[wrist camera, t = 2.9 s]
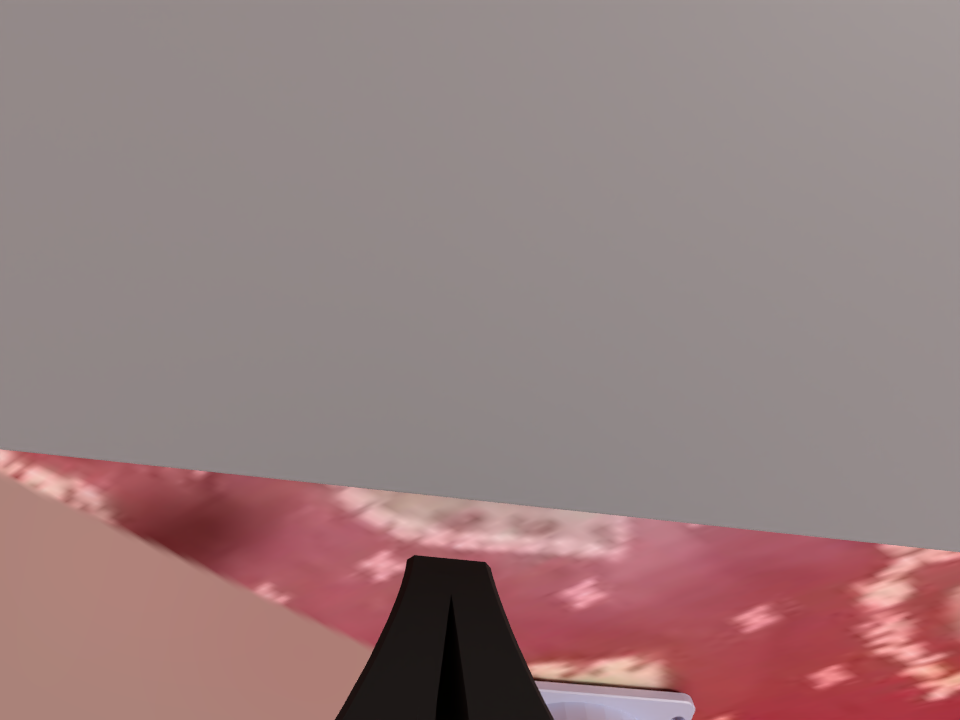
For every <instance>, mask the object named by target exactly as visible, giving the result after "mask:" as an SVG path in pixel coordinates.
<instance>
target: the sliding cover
mask: <svg viewBox="0 0 960 720" xmlns="http://www.w3.org/2000/svg"><path fill="white" fill-rule="evenodd" d="M0 449H4V450H13V451H22V452H32V453H41V454H50V455H60V456H69V457H78V458H87V459H97V460H106V461H115V462H125V463H134V464H143V465H153V466H162V467H171V468H181V469H190V470H199V471H209V472H218V473H227V474H237V475H246V476H255V477H265V478H274V479H283V480H293V481H302V482H311V483H320V484H330V485H339V486H348V487H358V488H367V489H376V490H386V491H395V492H404V493H414V494H423V495H432V496H442V497H451V498H460V499H470V500H479V501H488V502H498V503H507V504H516V505H526V506H535V507H544V508H553V509H563V510H572V511H581V512H591V513H600V514H609V515H619V516H628V517H637V518H647V519H656V520H665V521H675V522H684V523H693V524H703V525H712V526H721V527H731V528H740V529H749V530H759V531H768V532H777V533H786V534H796V535H805V536H814V537H824V538H833V539H842V540H852V541H861V542H870V543H880V544H889V545H898V546H908V547H917V548H926V549H936V550H945V551H954V552H960V0H0Z"/></svg>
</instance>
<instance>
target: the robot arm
mask: <svg viewBox="0 0 960 720" xmlns="http://www.w3.org/2000/svg"><path fill="white" fill-rule="evenodd" d="M694 712H695V706H694V704H693V701H692V699H691V697H690V696H689V695H687V694H684V693H677V692H665V691H653V690H641V689H629V688H617V687H605V686H593V685H581V684H568V683H556V682H544V681H534V679H533V677H532V674H531V672H530V670H529V668H528V666H527V663H526V661H525V659H524V657H523V655H522V653H521V650H520V648H519V646H518V644H517V641H516V639H515V636H514V634H513V632H512V629H511V627H510V624H509V622H508V619H507V616H506V614H505V611H504V609H503V606H502V603H501V600H500V598H499V595H498V592H497V589H496V585H495V582H494V579H493V576H492V572H491V568H490V567H489V566H488V565H487V563H486V562H478V561H468V560H458V559H447V558H437V557H427V556H417V555H414V556H413V557H411V558H409V559H408V560H407V563H406V569H405V574H404V577H403V581H402V584H401V587H400V590H399V593H398V596H397V598H396V601H395V603H394V606H393V608H392V611H391V613H390V616H389V618H388V620H387V623H386V625H385V627H384V629H383V631H382V633H381V635H380V637H379V639H378V642H377V644H376V646H375V648H374V650H373V652H372V654H371V656H370V658H369V660H368V662H367V664H366V666H365V668H364V669H363V671H362V673H361V675H360V677H359V679H358V680H357V682H356V684H355V686H354V687H353V689H352V691H351V693H350V695H349V696H348V698H347V700H346V702H345V704H344V705H343V707H342V709H341V710H340V712H339V714H338V715H337V717H336V719H335V720H691V719H692V717H693V714H694Z"/></svg>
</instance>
